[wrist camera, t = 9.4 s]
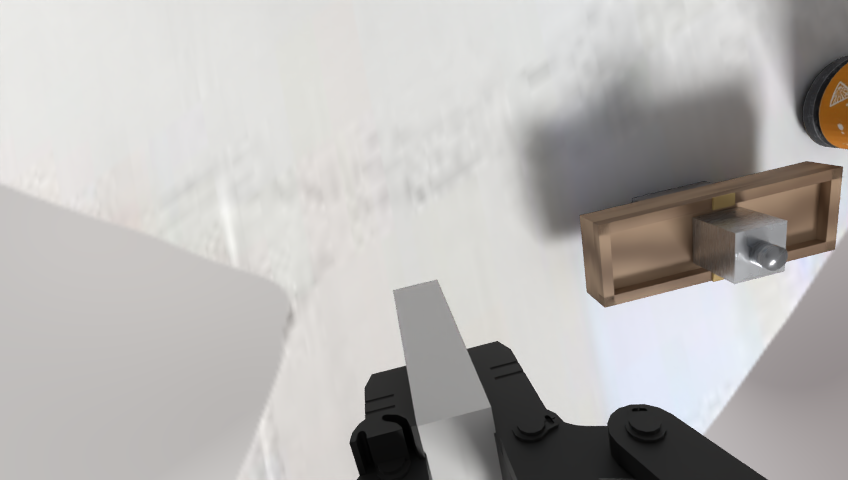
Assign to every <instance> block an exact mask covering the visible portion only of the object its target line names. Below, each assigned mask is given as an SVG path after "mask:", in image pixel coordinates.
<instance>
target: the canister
mask: <svg viewBox="0 0 848 480" xmlns="http://www.w3.org/2000/svg"><path fill="white" fill-rule="evenodd" d="M803 121H804V126H805V129H806V131H807V134H808V135H809V136H810V138H811V139H812V140H813V141H814V142H816V143H817V144H819V145H822V146H825V147H833V148H842V149H848V56H844V57H842V58H840V59H837V60H836V61H834V62H832V63H831V64H830V65H828V66H827V67H826V68H825V69H824V70H823V71H822V72H821V73H820V74H819V75H818V76H817V78H816V79H815V80H814V82H813V83H812V85H811V87H810V89H809V91H808V93H807V96H806V99H805V103H804V108H803Z"/></svg>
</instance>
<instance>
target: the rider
mask: <svg viewBox="0 0 848 480" xmlns="http://www.w3.org/2000/svg"><path fill="white" fill-rule="evenodd" d="M786 234H787V220H784V219H780V218H777V217H773V216H770V215H767V214H763V213H760V212H756V211H753V210H750V209H746V208H743V207H739V206H738V207H734V208H730V209H726V210H722V211H718V212H713V213H709V214H705V215H701V216H697V217H693V263H694V264H696V265H698V266H700V267H702V268H704V269H706V270H708V271H710V272H712V273H714V274H716V275H718V276H720V277H722V278H724V279H726V280H728V281H730V282H732V283H734V284H736V283H740V282H744V281H748V280H752V279H756V278H759V277H763V276H767V275H771V274H775V273H779V272H783V271H784V268H785V263H786V261H787V258H788V253H787V250H786Z"/></svg>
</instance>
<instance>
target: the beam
mask: <svg viewBox="0 0 848 480" xmlns="http://www.w3.org/2000/svg"><path fill="white" fill-rule="evenodd" d="M842 172H843V167H841V166H835V165H828V164H821V163H815V162H808V161H806V162H802V163H798V164H794V165H789V166H785V167H781V168H777V169H772V170H768V171H764V172H760V173H756V174H751V175H747V176H743V177H739V178H735V179H730V180H726V181H722V182H718V183H710V182H706V181H703V182H699V183H695V184H691V185H687V186H682V187H678V188H674V189H670V190H666V191H661V192H657V193H653V194H649V195H644V196H640V197H636V198H632V203H630V204H625V205H621V206H617V207H613V208H609V209H604V210H600V211H596V212H592V213H588V214H583V215H580V224H581V234H582V245H583V256H584V266H585V277H586V288H587V293H589V294H590V295H591V296H592V297H593V298H594V299H596V300H597V301H598V302H599V303H600V304H601V305H602V306H604V307H609V306H613V305H617V304H621V303H625V302H629V301H633V300H637V299H641V298H645V297H649V296H653V295H657V294H661V293H665V292H669V291H673V290H676V289H680V288H684V287H688V286H692V285H696V284H700V283H704V282H708V281H713V282H715V281H719V280H723V279H724V278H722V277H720V276H718V275H716V274H714V273H712V272H710V271H708V270H706V269H704V268H702V267H700V266H698V265H696V264H694V263H693V217H697V216H701V215H705V214H709V213H713V212H718V211H722V210H726V209H730V208H734V207H738V206H739V207H743V208H746V209H750V210H753V211H756V212H760V213H763V214H767V215H770V216H773V217H777V218H780V219H784V220H787V234H786V250H787V253H788V258H787V261H791V260H795V259H799V258H803V257H807V256H811V255H815V254H819V253H823V252H827V251H831V250H835V244H836V234H837V223H838V213H839V203H840V192H841V182H842ZM787 261H786V262H787Z"/></svg>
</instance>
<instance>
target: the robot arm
mask: <svg viewBox="0 0 848 480" xmlns="http://www.w3.org/2000/svg"><path fill="white" fill-rule="evenodd" d="M393 293H394V298H395V304H396V310H397V315H398V321H399V327H400V333H401V338H402V344H403V350H404V355H405V361H406V366H403V367H399V368H395V369H391V370H387V371H383V372H379V373H376V374H372V375H371V377H370V379H369V381H368V383H367V385H366V386H365V414H366V415H365V420H364V421H362V422H361V423H360V424H359V425H358V426H357V427H356V429H355V430H354V431H353V433H352V436H351V439H350V446H351V449H352V452H353V456H354V459H355V462H356V465H357V468H358V471H359V474H360V476H359V477H358V479H357V480H767V479H766V478H764V477H763V476H761V475H760V474H758V473H757V472H756V471H754V470H753V469H751V468H750V467H748V466H747V465H745V464H744V463H742V462H741V461H739V460H738V459H736V458H735V457H734V456H732V455H731V454H729V453H728V452H726V451H725V450H723V449H722V448H720V447H719V446H717V445H716V444H715V443H713V442H712V441H710V440H709V439H707V438H706V437H704V436H703V435H702V434H700V433H699V432H697V431H696V430H694V429H693V428H691V427H690V426H688V425H687V424H685V423H684V422H683V421H681V420H680V419H678V418H677V417H675V416H674V415H672V414H671V413H669V412H667V411H665V410H663V409H661V408H658V407H654V406H650V405H645V404H639V405H628V406H625V407H621V408H619V409H617V410H616V411H615V412H614V413H612V414H611V416H610V418H609V421H608V423H607V424H608V426H578V425H573V424H569V423H565V422H563V420H562V419H561V418H560V417H559V416H558V415H557V414H556V413H554V412H552V411H549V410H547V409H546V408H545V406H544V405H543V403H542V401H541V399H540V398H539V396H538V394H537V393H536V391H535V389H534V388H533V386H532V384H531V383H530V381H529V379H528V378H527V376H526V374H525V373H524V372H523V369H522V368H521V366H520V364H519V363H518V361H517V359H516V357H515V356H514V354H513V352H512V351H511V349H509V348H508V347H506V346H505V345H503V344H501V343H500V342H498V341H496V342H492V343H488V344H484V345H480V346H476V347H473V348H469V349H466V346H465V344H464V342H463V339H462V337H461V335H460V332H459V330H458V328H457V325H456V323H455V320H454V318H453V316H452V313H451V311H450V309H449V306H448V304H447V302H446V299H445V297H444V294H443V292H442V290H441V287H440V285H439V283H438V280H434V281H430V282H426V283H421V284H417V285H413V286H409V287H405V288H401V289H397V290H393Z"/></svg>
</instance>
